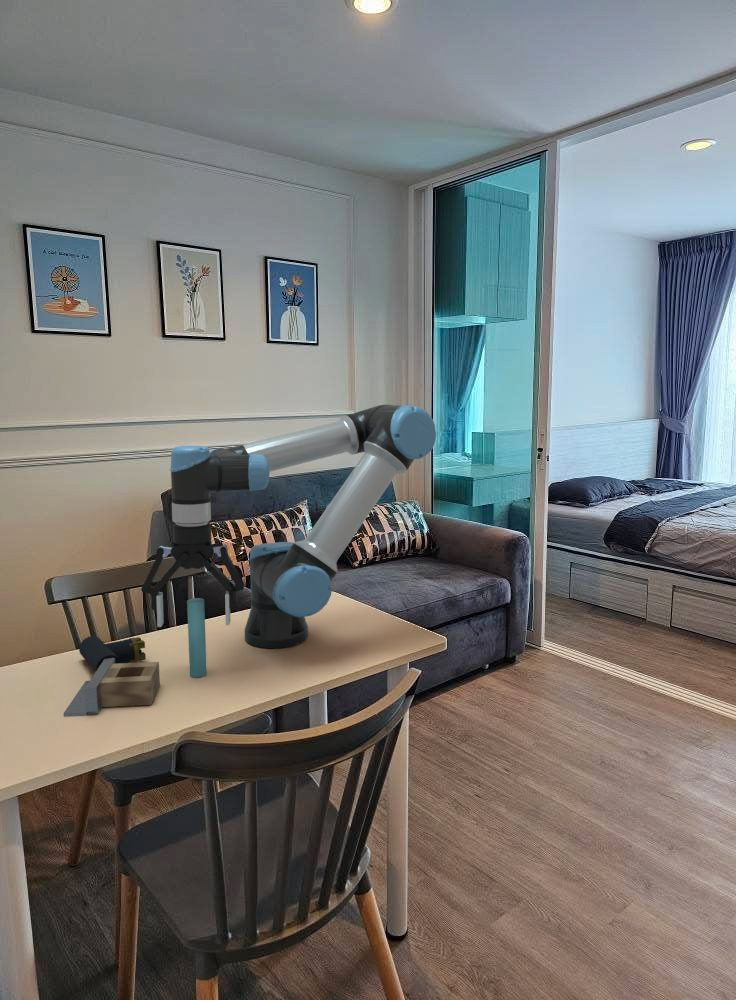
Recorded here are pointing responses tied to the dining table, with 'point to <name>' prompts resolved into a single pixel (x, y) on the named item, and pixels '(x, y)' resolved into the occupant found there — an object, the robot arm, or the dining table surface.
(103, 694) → the socket block
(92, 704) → the grey wedge ramp
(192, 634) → the dowel
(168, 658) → the dining table surface
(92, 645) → the pipe connector
